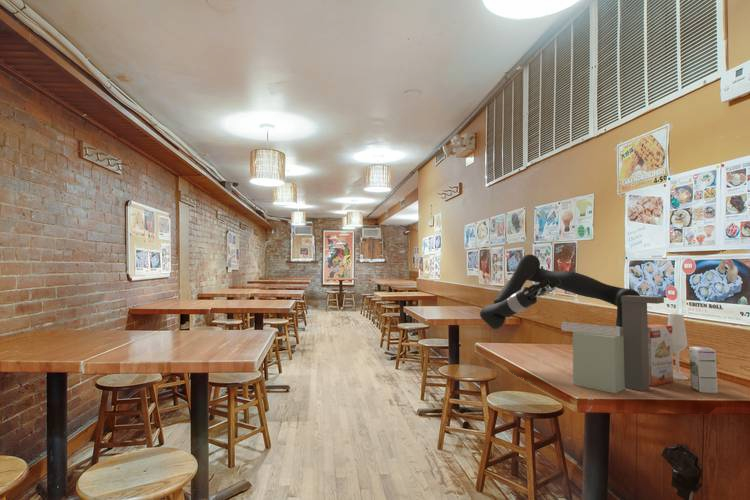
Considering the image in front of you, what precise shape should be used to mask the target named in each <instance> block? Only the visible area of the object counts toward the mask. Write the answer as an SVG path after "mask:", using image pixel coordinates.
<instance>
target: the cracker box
mask: <svg viewBox="0 0 750 500" xmlns="http://www.w3.org/2000/svg"><path fill="white" fill-rule="evenodd" d="M673 356H674V351H673V327H672V326H670V325H668V324H658V323H655V324H648V359H649V387H653V386H654V387H655V386H658V385H663V384H664V385H665V384H670V383H674V378H673V373H674V357H673Z"/></svg>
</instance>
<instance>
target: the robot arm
mask: <svg viewBox="0 0 750 500" xmlns="http://www.w3.org/2000/svg"><path fill="white" fill-rule="evenodd" d="M527 281H529V282H534V284H532V285H530V286H528V287H527V286H524V285H525V283H526V282H527ZM535 283H536V284H535ZM523 286H524V287H523ZM556 288H557V289H558V290H559V289H560V290H562V291H566V292H568V293H571V294H574V295H576V296H577V295H578V296H582V297H586V298H590V299H596V300H600V301H603V302H605V303H608V304H610V305H613V306H614V307H616V313H617V314H616V320H615V327H622V302H621V296H627V295H632V296H641V294H640V293H639V292H638V291H637V290H635V289H631V288H624V287H619V286H614V285H610V284H606V283H605V282H601V281H600V280H598V279H595V278H594V277H593V278H592V277H591V276H588V275H585V274H581V273H578V272H576V271H571V270H570V271H569V270H548V269H545V268H541V262H540V259H539V258H538V257H537V256H536V255H534V254H531V253H530V254H525V255H523V256H522V257H521V258H520V259H519V261H518V264H517V266H516V269H515V270H514V272H513V274H512V275H511V277H510V278H509V280H508V281H507V283H506V284H505V285H504V287H502V289H501V290H500V292H499V293H498V295H497V296H496V297H495V298H494V300H493V303H491V304H488V305H486V306H484V307H483V308H482V309H481V310H480V312H479V316H480V318H481V319H482V320H483V321H484V322H485V323H486V324H487V326H489V327H490V328H491V329H493V330H497V329H500V328H502V327H503V325H504V323H505V320H506V318H510V317H512V316H514V315H516V314H518V313H519V312H522V311H524V310H527V309H528V308H529V307H531V306H533V305H534V304H537V301H538V299H537V297H542V296H545V295H547V294H549V293H550V292H552V291H554V290H556Z"/></svg>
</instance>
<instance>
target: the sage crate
mask: <svg viewBox="0 0 750 500" xmlns="http://www.w3.org/2000/svg"><path fill="white" fill-rule="evenodd" d="M572 377H573V378H572V379H573V380H572V381H573V386H578V387H583V388H587V389H592V390H593V389H594V390H597V391H602V392H606V393H607V392H608V393H612V394H617V393H620V392H622V391H624V390H625V389H626V388H625V378H624V336H622V337H615V336H606V335H597V334H588V333H579V332H572Z"/></svg>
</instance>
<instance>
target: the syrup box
mask: <svg viewBox="0 0 750 500" xmlns="http://www.w3.org/2000/svg"><path fill="white" fill-rule="evenodd" d="M688 349H689V350H688V351H689V369H690V370H689V372H690V388H691V389H693V390H695V391H697V392H699V393H705V394H707V393H709V394H718V393H719V391H718V390H719V389H718V386H719V385H718V372H717V370H718V368H717V352H716V349H713V348H709V347H706V346H689V347H688Z"/></svg>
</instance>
